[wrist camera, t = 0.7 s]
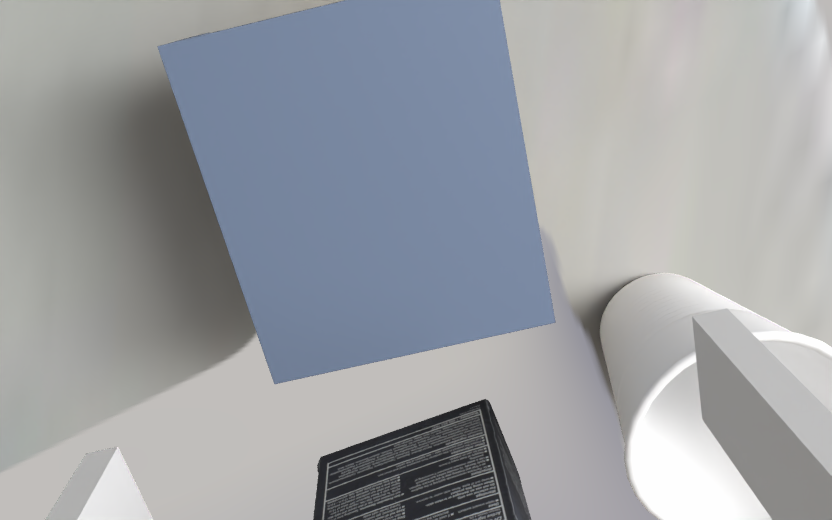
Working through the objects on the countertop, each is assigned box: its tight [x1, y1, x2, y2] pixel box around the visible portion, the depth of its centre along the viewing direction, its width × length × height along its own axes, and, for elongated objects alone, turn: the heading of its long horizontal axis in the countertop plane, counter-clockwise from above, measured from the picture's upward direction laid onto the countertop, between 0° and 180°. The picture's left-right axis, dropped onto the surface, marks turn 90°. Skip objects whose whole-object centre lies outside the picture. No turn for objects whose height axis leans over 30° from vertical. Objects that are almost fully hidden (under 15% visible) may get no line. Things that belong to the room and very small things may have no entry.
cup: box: [600, 273, 832, 520], centre depth 34 cm, size 10×10×11 cm
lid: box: [157, 0, 555, 384], centre depth 29 cm, size 14×12×5 cm
